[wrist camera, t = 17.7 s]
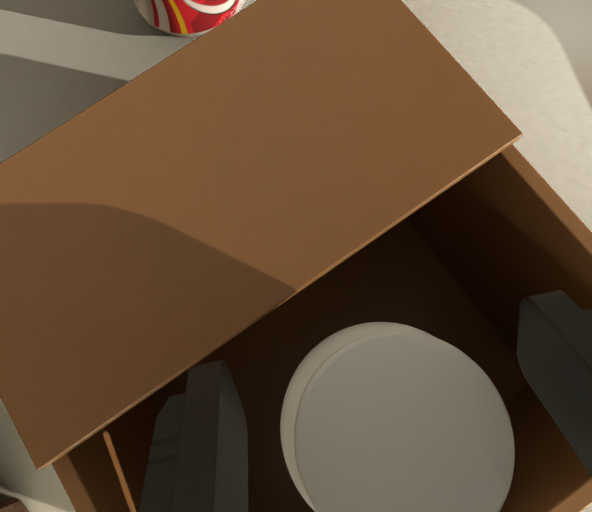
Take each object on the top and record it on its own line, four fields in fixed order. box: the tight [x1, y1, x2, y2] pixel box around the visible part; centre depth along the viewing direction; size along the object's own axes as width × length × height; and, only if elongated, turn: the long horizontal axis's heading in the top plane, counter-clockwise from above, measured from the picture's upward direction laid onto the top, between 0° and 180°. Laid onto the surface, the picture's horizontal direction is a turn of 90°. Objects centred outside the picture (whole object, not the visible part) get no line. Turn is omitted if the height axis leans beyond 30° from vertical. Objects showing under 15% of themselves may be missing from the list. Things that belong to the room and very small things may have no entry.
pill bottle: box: [280, 322, 515, 512], centre depth 15 cm, size 6×6×10 cm
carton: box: [0, 0, 592, 512], centre depth 19 cm, size 16×17×12 cm
